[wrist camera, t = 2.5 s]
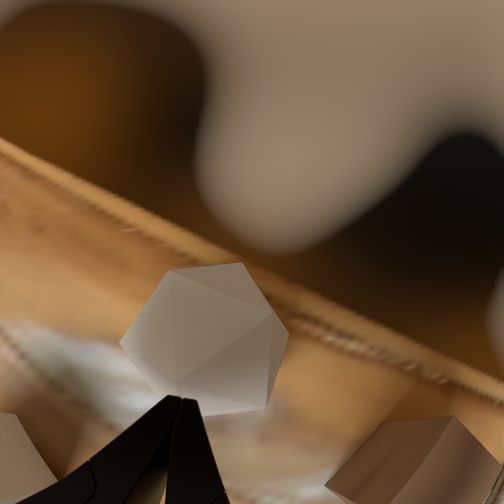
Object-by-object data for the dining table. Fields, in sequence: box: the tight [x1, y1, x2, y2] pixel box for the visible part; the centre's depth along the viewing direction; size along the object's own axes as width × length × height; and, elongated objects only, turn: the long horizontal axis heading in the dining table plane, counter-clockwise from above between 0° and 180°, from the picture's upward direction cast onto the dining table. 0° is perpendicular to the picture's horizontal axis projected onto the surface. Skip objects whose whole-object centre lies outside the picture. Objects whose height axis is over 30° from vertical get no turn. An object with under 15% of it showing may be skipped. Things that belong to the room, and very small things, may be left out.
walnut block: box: [325, 415, 503, 504], centre depth 13 cm, size 6×6×8 cm
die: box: [119, 262, 289, 416], centre depth 17 cm, size 8×9×10 cm
